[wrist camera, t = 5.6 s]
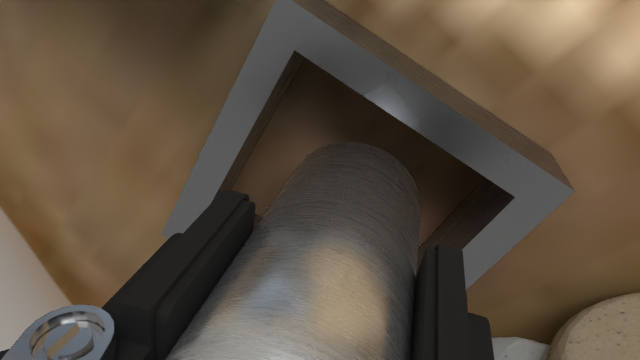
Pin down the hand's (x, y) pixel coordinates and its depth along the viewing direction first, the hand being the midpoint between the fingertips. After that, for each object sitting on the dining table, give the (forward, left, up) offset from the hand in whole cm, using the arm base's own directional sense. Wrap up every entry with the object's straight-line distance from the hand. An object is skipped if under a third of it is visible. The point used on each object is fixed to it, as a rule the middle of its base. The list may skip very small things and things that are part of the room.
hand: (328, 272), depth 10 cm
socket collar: (0, 0, -5) cm, 6 cm away
